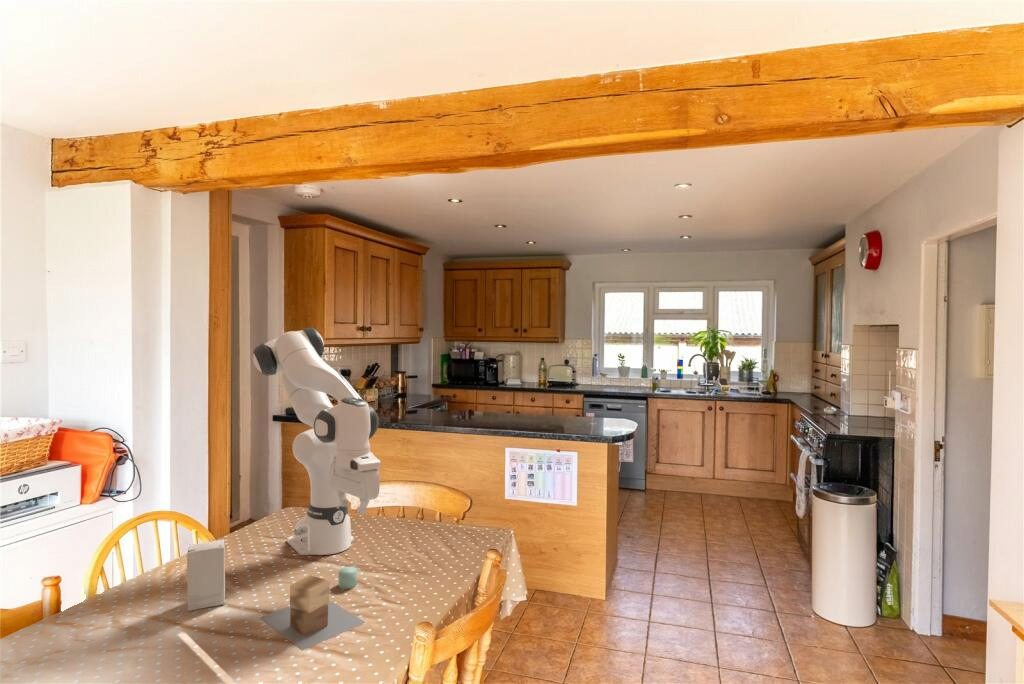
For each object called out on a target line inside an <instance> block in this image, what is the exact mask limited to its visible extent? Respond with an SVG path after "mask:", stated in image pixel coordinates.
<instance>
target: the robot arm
mask: <svg viewBox="0 0 1024 684" xmlns="http://www.w3.org/2000/svg"><path fill="white" fill-rule="evenodd" d="M324 352H325V342H324V338H323V336H322V335H321V334H320V332H318V330H317V329H316V328H314V327H306V328H302V329H301V330H296V331H294V330H293V331H292V330H291V331H287V332H286V331H285V332H284V333H282V334H280V335H279V336H278V337H276V338H274V339H271V340H269V341H267V342H265V343H260V344H258V345H257V346H256V347H254V350H253V352H252V353H253V354H252V361H253V364H254V366H255V368H256V369H257V370H258V371H259V372H260V373H261V374H262V375H264V376H273V375H277V374H278V373H281V372H282V373H281V379H282V384H283V387H284V389H285V393H286V395H287V398H288V400H289V402H290V404H291V407H292V408H293V410H294V413H295V414H296V417H297V419H298V420H299V421H300V422H302V423H303V424H304V425H308V426H310V427H311V428H310V429H308V430H306V431H303V432H300V433H299V434H297V435H296V436H295V438H294V439H293V442H292V455H293V456H294V458H295V459H296V460H297V462H299V463H300V464H302V466H303V467H304V468H305V469H306V471H307V473H308V477H309V481H310V483H309V484H310V502H308V503H307V506H306V508H307V511H306V515H304V516H303V517H302V518H301V519H300V520H298V521H297V522H296V524H295V527H294V530H293V535H290V536H289V537H287V538H286V542H287V544H289V545H290V546H291V548H292V549H294V550H295V552H297V554H299V555H300V556H309V555H316V556H323V555H325V556H326V555H327V556H328V555H334V554H338V553H341V552H344V551H346V550H348V549H349V548H351V543H352V542H354V540H355V539H354V536H353V535H352V531H351V529H352V528H351V517H350V516H349V514H348V512H349V500H348V498H347V497H348V496H347V495H351V496H353V497H356V498H359V503H360V504H359V506H358V507H357V514H358V515H366V514H367V507H368V505H369V503H370V501H372V500H376V499H377V498H378V497H379V494H380V488H381V487H380V485H381V484H380V483H381V482H380V481H381V479H380V478H381V475H380V472H379V469H380V468H381V460H380V459H379V458H377V456H375V455H374V454H373V452H372V451H371V443H370V439H371V438H372V437H374V435H375V434H376V432H377V431H378V429H379V425H380V419H379V415H378V413H377V412H376V410H375V409H374V407H372V406H371V405H370V404H369V403H368V401H366V400H364V399H363V398H362V397H361V396H360V395H359V393H358V392H357V391H356V389H354V387H353V386H352V385H351V384H350V383H349V381H348V380H347V379H346V378H345V377H344V376H343V375H342V374H341V373H340V372H339V371H337V370H336V369H335V368H332V366H330V365H329V364H328V363H326V361H324V359H322V357H323V354H324ZM328 395H329V396H332V397H333V398H334V399H335V400H336V401H337V402H338V403H337V404H336V405H333V403H332V402H331V400H330V398H329V397H328Z"/></svg>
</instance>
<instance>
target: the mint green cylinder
mask: <svg viewBox="0 0 1024 684" xmlns="http://www.w3.org/2000/svg"><path fill="white" fill-rule="evenodd" d="M357 584H358V568H357V567H355V566H346V567H342V568H340V569H339V570H338V588H339V589H341V590H350V589H353V588H356V587H357Z"/></svg>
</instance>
